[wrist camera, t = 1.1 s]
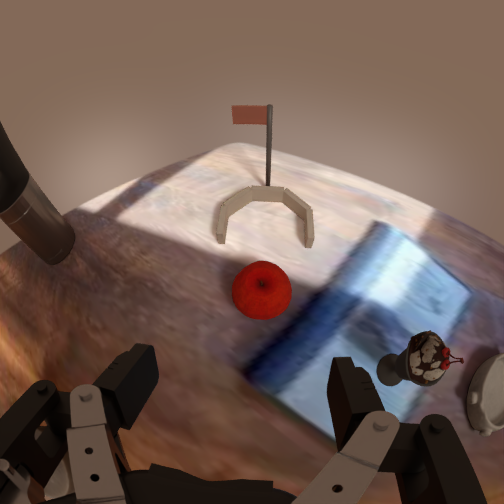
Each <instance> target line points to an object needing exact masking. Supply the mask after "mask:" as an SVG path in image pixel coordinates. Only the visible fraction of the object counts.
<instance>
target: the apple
mask: <svg viewBox="0 0 504 504" xmlns="http://www.w3.org/2000/svg"><path fill="white" fill-rule="evenodd" d="M291 293H292V289H291V284H290V281H289V279H288V276H287V275H286V273H285V272H284V271H283V270H282V269H281V268H280V267H279V266H277V265H276V264H273V263H271V262H268V261H257V262H254V263H252V264H250V265H248V266H246V267H245V268H244V269H243V270H242V271H241V272H240V273H239V274H238V275H237V276H236V277H235V280H234V282H233V285H232V297H233V301H234V303H235V306H236V307H237V308H238V310H239V311H240V312H242V313H243V314H244V315H245V316H247V317H249V318H253V319H261V320H267V319H271V318H274V317H276V316H278V315H280V314H281V313H282V312H284V311H285V310H286V309H287V307H288V305H289V303H290V300H291Z"/></svg>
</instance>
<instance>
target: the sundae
mask: <svg viewBox="0 0 504 504" xmlns="http://www.w3.org/2000/svg"><path fill="white" fill-rule="evenodd" d="M449 355H450V356H451V357H452V358H455V357H453V356H452V355H451V354H450V349H449V348H447V347H446V345H445V344H444V342H443V341H442V339H441V338H440V337H439V336H438V335H437V334H436V333H434V332H431V330H430V331H425V332H421V333H419V334H417V335H415V336H412V337H411V340H410V342H409V344H408V347H407V349H405V350H404V351H403V352H402V353H401V354H400V355H399V356H398V355H396V354H389V355H386V356H384V357H383V358H382V359H381V360H380V362H379V364H378V368H377V375H378V378H379V380H380V381H381V383H383V384H384V385H386V386H394V385H397V384H398V383H400V382H401V381H402V379H404V380H409V381H412V382H413V383H415V384H417V385H420V386H432V385H434V384H436V383H437V382H438V381H439V380H440V379H441V378H442V376H443V375H444V373H445V371H446V370H447V369H448V368H449V366H450V364H451V363H454V362H461V363H462V364H463V363H464V361H463V358H455V359H460V361H453V362H450V361H449Z"/></svg>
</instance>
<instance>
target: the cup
mask: <svg viewBox="0 0 504 504" xmlns="http://www.w3.org/2000/svg"><path fill="white" fill-rule="evenodd" d="M272 108H273V106H272V105H267V106H248V105H239V106H232V116H233V124H263V125H267V143H266V186H252V187H251V188H250V187H249V186H248V187H247V188H245V189H244V190H242V191H241V192H239V193H237V194H236V195H234V196H233V197H231V198H230V199H228V200H227V201H225V202H224V203H223V205H221V209H220V215H219V220H218V226H217V232H216V235H217V239H218V243H219V244H225V239H226V232H227V225H228V218H229V217H230V216H231V215H232V214H234V213H235V212H237V211H238V210H240V209H241V208H243V207H244V206H246V205H247V204H249V203H250V202H252V201H262V202H282V203H284V204H285V205H286V206H287V207H288V208H290V209H291V210H292V211H293V212H294V213H296V214H297V215H298V216H299V217H301V218H302V219H303V220H304V228H305V248H312V245H313V241H314V224H313V210H312V209H311V207H310V206H309V205H308V204H307V203H305V202H304V201H303V200H302V199H300V198H299V197H298V196H296V195H295V194H294V193H293V192H291V191H290V190H289V189H287V188H286V189H285V190H284V187H273V186H270V175H271V145H272V144H271V142H272Z"/></svg>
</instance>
